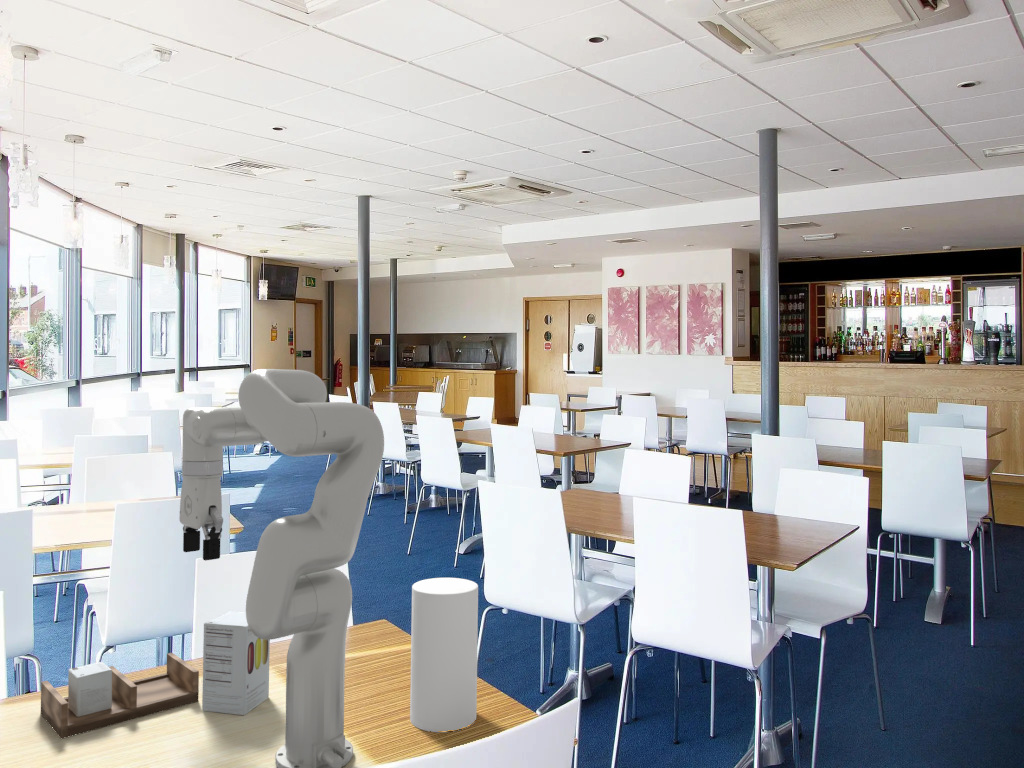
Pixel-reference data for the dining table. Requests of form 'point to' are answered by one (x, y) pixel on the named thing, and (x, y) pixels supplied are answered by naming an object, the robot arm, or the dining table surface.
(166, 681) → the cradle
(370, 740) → the dining table surface
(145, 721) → the dining table surface
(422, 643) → the cylinder
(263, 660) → the supplement box
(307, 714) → the robot arm
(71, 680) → the skincare box
